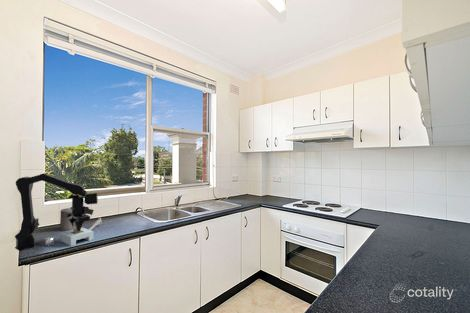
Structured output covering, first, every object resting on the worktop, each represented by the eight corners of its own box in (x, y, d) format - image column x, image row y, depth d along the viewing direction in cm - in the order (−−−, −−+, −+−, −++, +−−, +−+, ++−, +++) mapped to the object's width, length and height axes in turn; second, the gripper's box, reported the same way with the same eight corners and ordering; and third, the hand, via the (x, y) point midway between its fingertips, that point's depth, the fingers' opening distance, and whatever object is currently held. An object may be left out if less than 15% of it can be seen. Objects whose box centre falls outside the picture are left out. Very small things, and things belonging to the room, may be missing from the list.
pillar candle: (57, 229, 153) (57, 208, 153) (72, 225, 161) (72, 205, 161) (64, 231, 148) (65, 209, 148) (80, 227, 157) (80, 207, 157)
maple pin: (75, 236, 131) (75, 222, 131) (71, 234, 133) (72, 221, 133) (82, 234, 134) (82, 221, 134) (79, 233, 136) (79, 220, 136)
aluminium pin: (46, 246, 123) (46, 239, 123) (43, 245, 125) (43, 238, 125) (55, 244, 126) (55, 237, 126) (52, 243, 128) (52, 236, 128)
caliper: (99, 225, 164) (100, 216, 164) (101, 225, 164) (101, 216, 164) (84, 234, 144) (84, 225, 144) (86, 234, 144) (86, 225, 144)
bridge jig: (70, 245, 124) (71, 237, 124) (60, 240, 132) (60, 232, 132) (93, 239, 135) (93, 231, 135) (82, 235, 142) (82, 227, 142)
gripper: (99, 204, 135) (99, 229, 135) (84, 201, 145) (84, 224, 145) (79, 208, 126) (78, 234, 126) (65, 204, 136) (64, 229, 136)
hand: (77, 230), depth 133 cm, fingers closed on maple pin, 4 cm apart
